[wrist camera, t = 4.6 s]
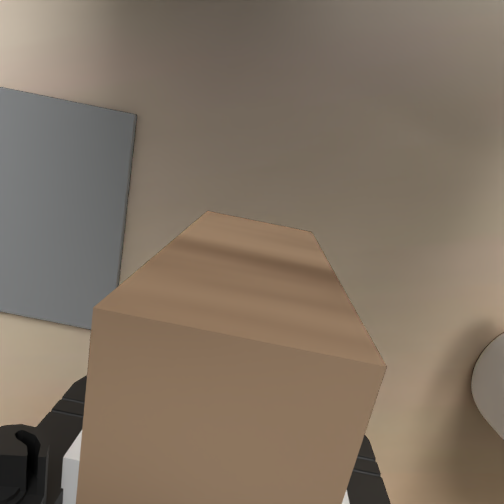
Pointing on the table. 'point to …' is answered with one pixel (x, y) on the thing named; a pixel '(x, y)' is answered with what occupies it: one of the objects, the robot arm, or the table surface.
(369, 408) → the stepped wooden block
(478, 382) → the mug
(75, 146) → the pad
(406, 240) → the table surface
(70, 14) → the table surface
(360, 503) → the robot arm
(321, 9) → the table surface
